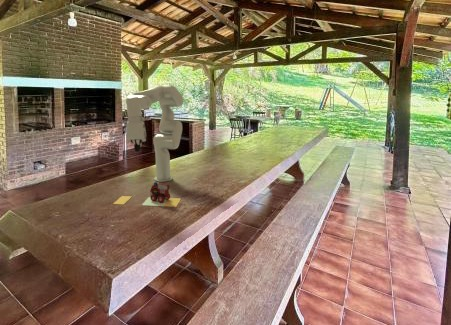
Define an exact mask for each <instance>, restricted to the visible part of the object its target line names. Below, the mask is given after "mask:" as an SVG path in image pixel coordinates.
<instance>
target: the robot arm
mask: <svg viewBox="0 0 451 325" xmlns="http://www.w3.org/2000/svg"><path fill="white" fill-rule="evenodd" d="M157 102H158V103H159V105H160V108H161V117H160V122H159V127H158V131H159V132H160V133H158V134H156V135H154V137H153V139H152V140H153V146H154V147H153V148H154V153H155V154H154V155H155V177H153V179H154V182H157V183H160V182H164V183H165V182H170V181H172V180H173V179H174V178H173V176H172V175H171V160H170V159H171V158H170V157H171V155H170V152H169V150H176V149H178V148H179V146H180V143H181V139H182V138H181V137H182V135H183V123H182V122H181V121H180V120H176V119H175V113H174V111H173V110H172V107H173V108H175V107H176V108H180V107H182V106H183V105H184V97H183V95H182V94H181V92H180V91H179V90H178V88H177V87H176V86H174V85H171V84H170V85H169V84H161V85H156V86H154V87H151V88H150V89H146V90H142V91H136V92H134V93H132V94H129V95H128V96H127V97H126V99H125V104H126V113H127V122H126V130H125V132H126V138H127V139H126V141H127V142H129V143H130V142H131V144H132V145H133V146H134V147H133V150H134V151H135V152H136V153H137V152H140V151H141V143H143V142H144V143H145V142H146V141H147V131H146V126H145V121H144V120H145V117H143V115H142V110H147V109H149V108H151V106H152V105H153V104H155V103H157Z"/></svg>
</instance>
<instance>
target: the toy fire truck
mask: <svg viewBox="0 0 451 325" xmlns="http://www.w3.org/2000/svg"><path fill="white" fill-rule="evenodd" d="M169 190H170V184H167V183H160V182H158V181H154V183H153V184H152V186H151V187H150V190H149V191H150V192H149V194H150V196H149V197H150V198H151V200H152V201H156V200H157V198H158V202H160V203H163V202H164V201H165V199H166V200H168V199H170V198H171V194H170V191H169Z"/></svg>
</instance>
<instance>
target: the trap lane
mask: <svg viewBox="0 0 451 325" xmlns="http://www.w3.org/2000/svg"><path fill="white" fill-rule="evenodd" d="M132 197H133V196H130V195H129V196H128V195H121V196H120V197H119V198H118V199H117V200H115V201H114V202H112V205H125V204H126V203H128V201H129V200H131V198H132ZM150 197H151V196H149V197H147V198H146V199H145V201H144V202H142V204H141V206H146V207H148V206H149V207H169V208H170V207H171V208H174V207H175V208H177V207H178V205H179V203H180V201H181V200H182V198H179V197H178V198H177V197H170V199H168V200H166V199H165V201H164V202H163V203H160V202H158V198H157V200H156V201H152V200H151V198H150Z"/></svg>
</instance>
